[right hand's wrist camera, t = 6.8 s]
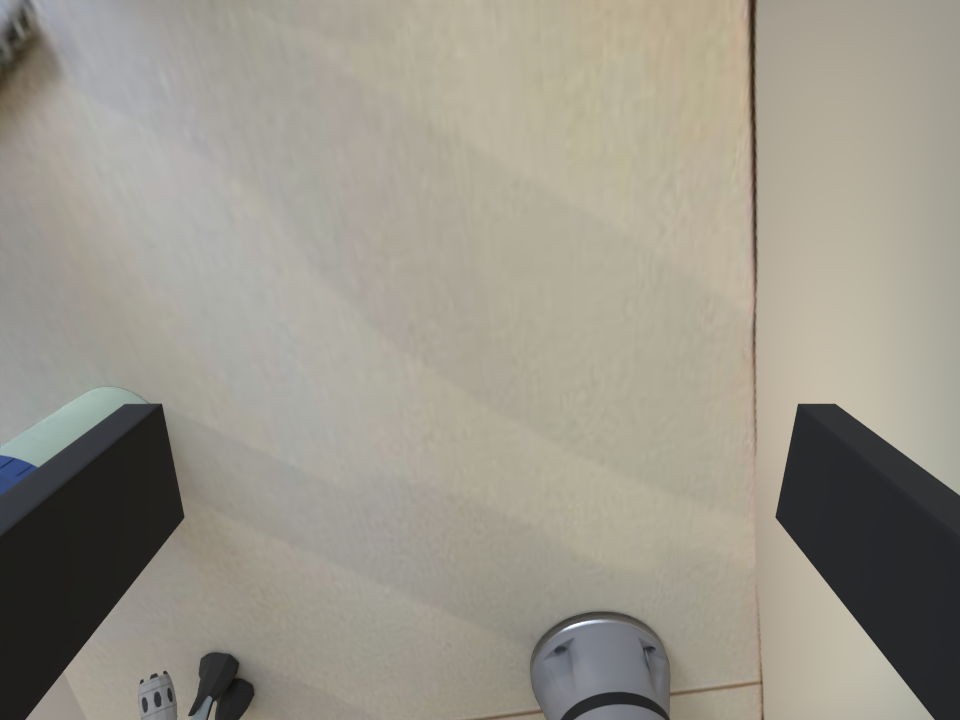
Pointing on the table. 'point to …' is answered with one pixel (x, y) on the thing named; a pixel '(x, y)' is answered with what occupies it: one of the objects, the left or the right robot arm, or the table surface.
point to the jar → (67, 424)
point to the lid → (13, 471)
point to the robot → (199, 692)
